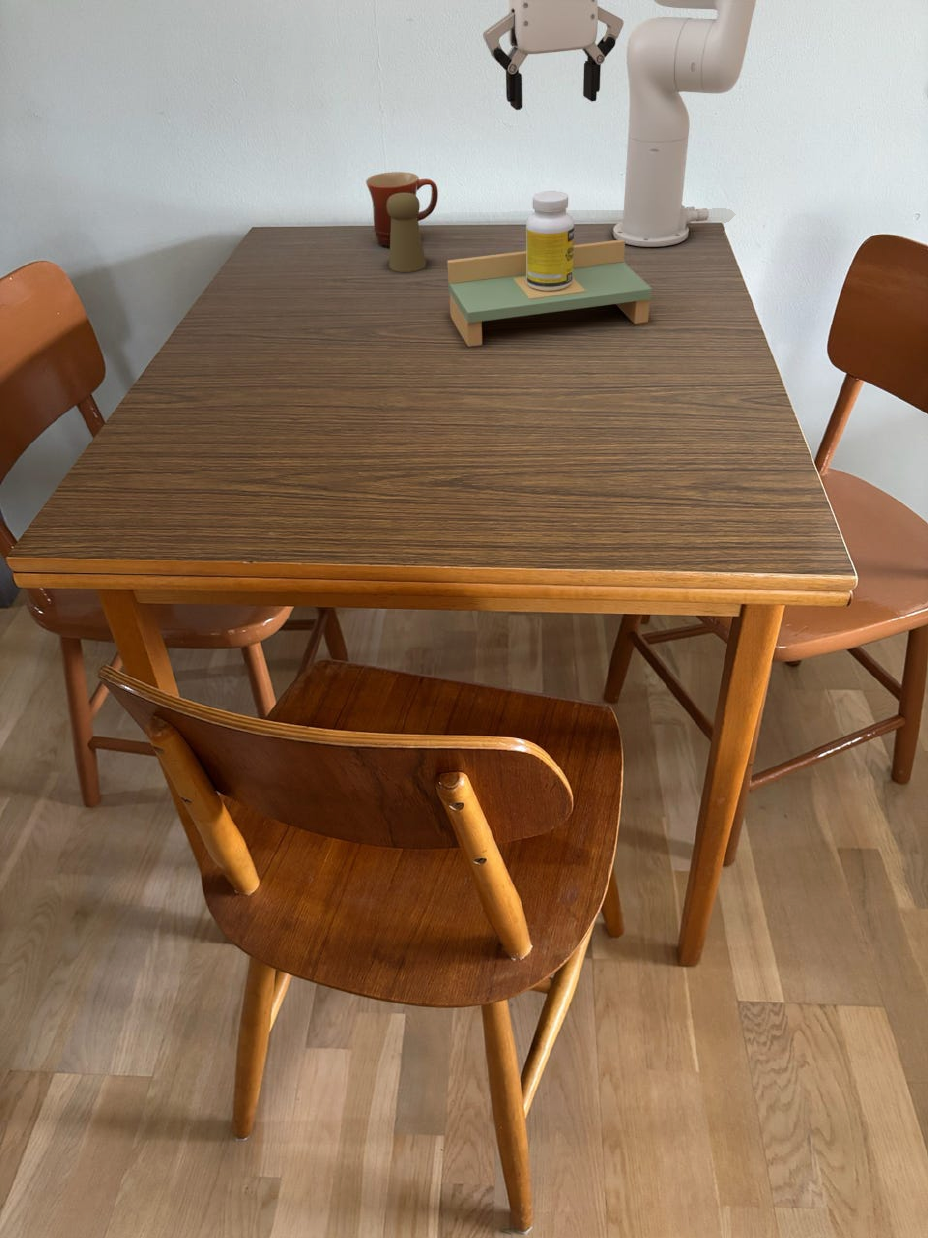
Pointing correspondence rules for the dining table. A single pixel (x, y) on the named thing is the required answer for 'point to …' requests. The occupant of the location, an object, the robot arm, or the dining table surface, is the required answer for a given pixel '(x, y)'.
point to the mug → (386, 187)
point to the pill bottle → (549, 242)
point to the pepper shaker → (405, 233)
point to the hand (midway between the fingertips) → (553, 103)
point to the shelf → (504, 291)
